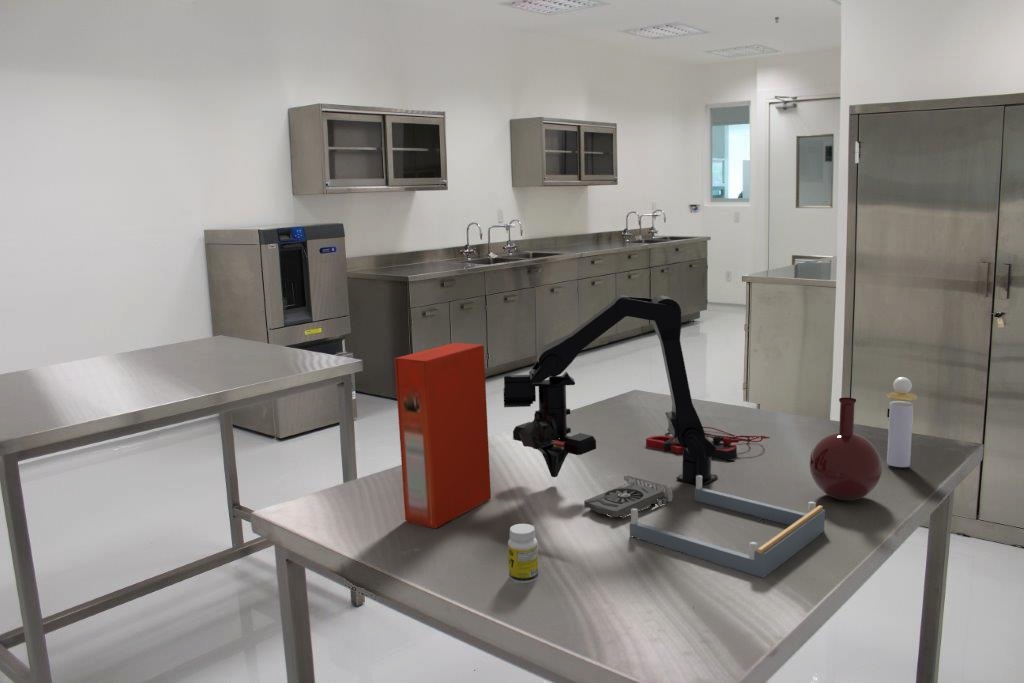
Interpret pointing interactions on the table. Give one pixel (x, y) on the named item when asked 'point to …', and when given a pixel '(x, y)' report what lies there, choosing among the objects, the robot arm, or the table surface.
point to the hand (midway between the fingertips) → (554, 476)
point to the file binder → (443, 432)
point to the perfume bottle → (900, 423)
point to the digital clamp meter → (722, 449)
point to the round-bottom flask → (845, 460)
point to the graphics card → (629, 497)
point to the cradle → (757, 560)
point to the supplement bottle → (523, 554)
